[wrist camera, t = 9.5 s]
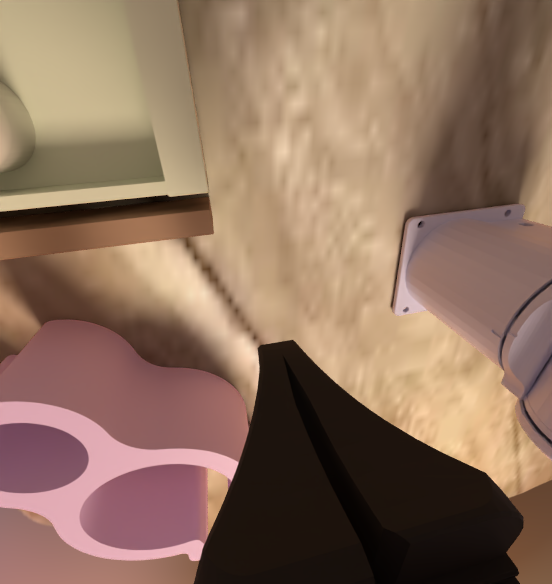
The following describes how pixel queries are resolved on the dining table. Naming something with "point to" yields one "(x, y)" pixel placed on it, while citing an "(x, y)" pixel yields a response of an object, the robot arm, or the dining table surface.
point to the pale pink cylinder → (14, 131)
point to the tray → (100, 101)
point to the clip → (114, 442)
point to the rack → (104, 227)
